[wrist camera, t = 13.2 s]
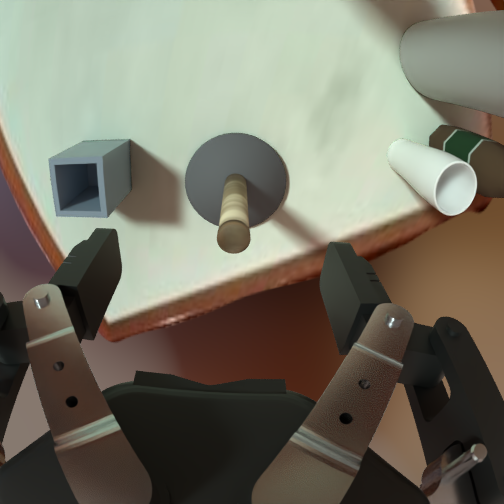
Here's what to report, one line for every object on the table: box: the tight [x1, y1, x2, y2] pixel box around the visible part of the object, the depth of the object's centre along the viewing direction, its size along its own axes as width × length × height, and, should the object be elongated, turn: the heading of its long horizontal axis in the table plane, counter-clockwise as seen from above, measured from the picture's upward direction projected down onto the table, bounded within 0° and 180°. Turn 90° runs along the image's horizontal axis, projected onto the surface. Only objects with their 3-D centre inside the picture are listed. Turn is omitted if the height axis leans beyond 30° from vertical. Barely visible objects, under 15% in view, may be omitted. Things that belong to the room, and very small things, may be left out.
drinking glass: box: [387, 138, 477, 216], centre depth 36 cm, size 7×7×15 cm
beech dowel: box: [217, 174, 250, 253], centre depth 37 cm, size 3×3×16 cm
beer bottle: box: [429, 125, 504, 198], centre depth 31 cm, size 8×8×24 cm
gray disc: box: [185, 133, 286, 227], centre depth 44 cm, size 14×14×1 cm
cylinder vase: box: [400, 10, 504, 118], centre depth 24 cm, size 12×12×25 cm
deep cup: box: [49, 139, 132, 218], centre depth 38 cm, size 8×8×10 cm
